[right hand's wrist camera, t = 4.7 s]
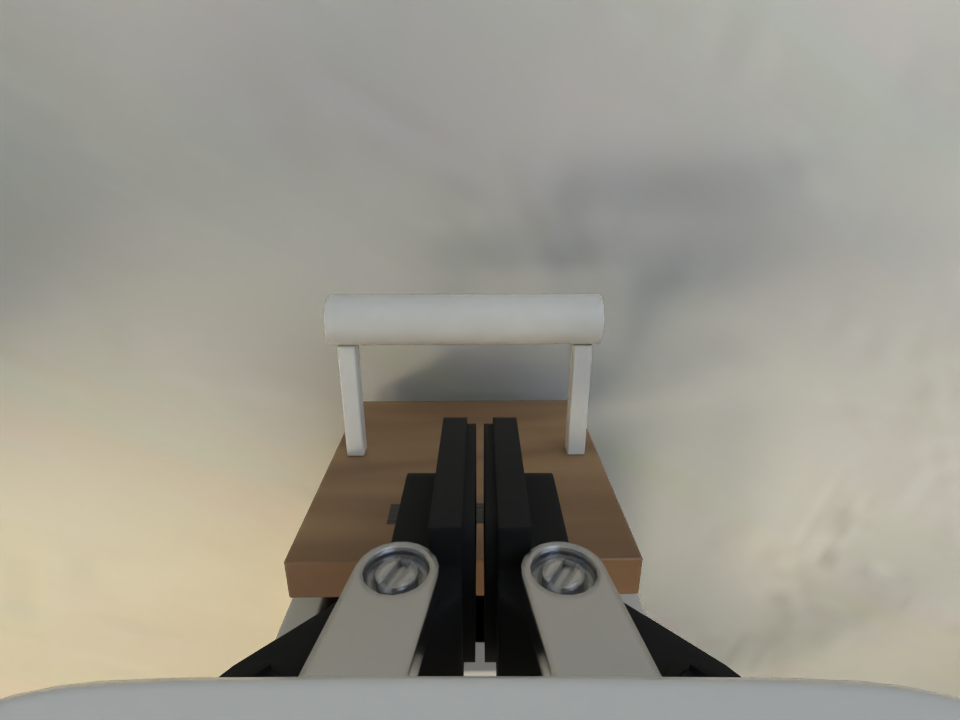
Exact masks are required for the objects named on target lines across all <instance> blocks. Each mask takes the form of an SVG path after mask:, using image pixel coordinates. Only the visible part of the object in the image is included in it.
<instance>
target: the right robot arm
mask: <svg viewBox="0 0 960 720" xmlns="http://www.w3.org/2000/svg"><path fill="white" fill-rule="evenodd" d="M476 534H477V511H476V424H467V417H444V418H443V425H442V432H441V439H440V446H439V453H438V460H437V467H436V473H408V474H407V477H406V480H405V485H404V489H403V493H402V498H401V502H400V506H399V511H398V515H397V519H396V524H395V528H394V532H393V537H392V541H391V543H388V544H383V545H381V546H378V547H376V548H374V549H372V550H370V551H369V552H368V553H366V554H365V555H364V556H362V558H361V559H360V560H359V562H358V563H357V564H356V566H355V568H354V570H353V572H352V574H351V575H350V577H349V579H348V581H347V583H346V585H345V587H344V589H343V591H342V593H341V595H340V597H339V599H338V601H337V602H336V603H334V604H333V605H331V606H330V607H328V608H326V609H325V610H323V611H321V612H320V613H318V614H317V615H315V616H313V617H312V618H310V619H308V620H307V621H305V622H304V623H302V624H300V625H299V626H297V627H296V628H294V629H292V630H291V631H289V632H287V633H286V634H284V635H283V636H281V637H279V638H278V639H276V640H274V641H273V642H271V643H270V644H268V645H266V646H265V647H263V648H262V649H260V650H258V651H257V652H255V653H253V654H252V655H250V656H249V657H247V658H245V659H244V660H242V661H241V662H239V663H237V664H236V665H234V666H233V667H231V668H230V669H229V670H227V671H226V672H225V673H224V674H222V675H221V676H220V677H201V678H159V679H135V680H111V681H95V682H87V683H78V684H69V685H61V686H55V687H50V688H45V689H40V690H35V691H30V692H26V693H21V694H16V695H12V696H9V697H5V698H2V699H0V720H960V699H958V698H955V697H951V696H948V695H944V694H939V693H934V692H930V691H925V690H920V689H915V688H910V687H905V686H899V685H891V684H882V683H873V682H865V681H848V680H823V679H799V678H745V677H740V676H739V675H738V674H736V673H735V672H734V671H733V670H731V669H730V668H729V667H727V666H726V665H724V664H723V663H721V662H719V661H718V660H716V659H715V658H713V657H711V656H710V655H708V654H707V653H705V652H703V651H702V650H700V649H698V648H697V647H695V646H694V645H692V644H690V643H689V642H687V641H686V640H684V639H682V638H681V637H679V636H677V635H676V634H674V633H673V632H671V631H669V630H668V629H666V628H664V627H663V626H661V625H660V624H658V623H656V622H655V621H653V620H652V619H650V618H648V617H647V616H645V615H643V614H642V613H640V612H639V611H637V610H635V609H634V608H632V607H630V606H629V605H627V604H626V603H624V602H623V601H622V599H621V597H620V595H619V593H618V591H617V589H616V587H615V585H614V583H613V581H612V579H611V577H610V575H609V574H608V572H607V570H606V568H605V566H604V564H603V563H602V562H601V560H600V559H599V558H598V556H596V555H595V554H594V553H592V552H591V551H590V550H588V549H586V548H584V547H582V546H579V545H577V544H572V543H569V541H568V537H567V532H566V528H565V524H564V519H563V515H562V511H561V506H560V502H559V498H558V493H557V489H556V485H555V480H554V477H553V474H552V473H524V467H523V460H522V453H521V446H520V439H519V432H518V425H517V418H516V417H493V424H484V511H483V534H484V643H485V662H496V676H464V662H475V643H476Z"/></svg>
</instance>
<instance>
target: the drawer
mask: <svg viewBox="0 0 960 720" xmlns="http://www.w3.org/2000/svg"><path fill="white" fill-rule="evenodd" d="M323 324H324V332H325V336H326V339H327V341H328V343H329V344H331V345H338V346H337V355H338V366H339V376H340V386H341V396H342V406H343V416H344V427H345V433H344V435H343V437H342V439H341V442H340V444H339V446H338V448H337V450H336V452H335V454H334V457H333V459H332V461H331V463H330V465H329V467H328V469H327V471H326V474H325V476H324V478H323V480H322V482H321V484H320V486H319V489H318V491H317V493H316V495H315V497H314V499H313V501H312V504H311V506H310V508H309V510H308V512H307V514H306V516H305V519H304V521H303V523H302V525H301V527H300V529H299V531H298V533H297V536H296V538H295V540H294V542H293V544H292V546H291V548H290V551H289V553H288V555H287V557H286V559H285V561H284V565H285V571H286V577H287V584H288V590H289V596H290V597H291V598H307V597H340V595H341V593H342V591H343V589H344V587H345V585H346V583H347V581H348V579H349V577H350V575H351V574H352V572H353V570H354V568H355V566H356V564H357V563H358V562H359V560H360V559H361V558H362V556H364V555H365V554H366V553H368V552H369V551H370V550H372V549H374V548H376V547H378V546H381V545H383V544H388V543H391V541H392V537H393V532H394V528H395V524H396V519H397V515H398V511H399V506H400V502H401V498H402V493H403V489H404V485H405V480H406V477H407V474H408V473H436V467H437V460H438V453H439V446H440V439H441V432H442V425H443V418H444V417H467V424H476V511H477V534H476V642H484V534H483V511H484V424H493V417H516V418H517V425H518V432H519V439H520V446H521V453H522V460H523V467H524V473H552V474H553V477H554V480H555V485H556V489H557V493H558V498H559V502H560V506H561V511H562V515H563V519H564V524H565V528H566V532H567V537H568V541H569V543H572V544H577V545H579V546H582V547H584V548H586V549H588V550H590V551H591V552H592V553H594V554H595V555H596V556H598V558H599V559H600V560H601V562H602V563H603V564H604V566H605V568H606V570H607V572H608V574H609V575H610V577H611V579H612V581H613V583H614V585H615V587H616V589H617V591H618V593H619V594H637V593H638V590H639V582H640V575H641V567H642V556H641V554H640V551H639V549H638V547H637V544H636V542H635V540H634V537H633V535H632V533H631V530H630V528H629V526H628V523H627V521H626V519H625V516H624V514H623V512H622V509H621V507H620V505H619V502H618V500H617V498H616V495H615V493H614V491H613V488H612V486H611V484H610V482H609V479H608V477H607V475H606V472H605V470H604V468H603V465H602V463H601V461H600V458H599V456H598V454H597V451H596V449H595V447H594V444H593V442H592V440H591V437H590V435H589V433H588V430H587V428H586V427H587V414H588V401H589V388H590V375H591V362H592V349H593V346H592V344H598V343H600V342H601V339H602V336H603V332H604V324H605V311H604V303H603V300H602V297H601V295H600V294H368V295H329V296H328V297H327V298H326V301H325V305H324V312H323ZM454 344H571V356H570V372H569V388H568V400H560V401H394V402H363V393H362V381H361V369H360V357H359V345H454Z"/></svg>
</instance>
